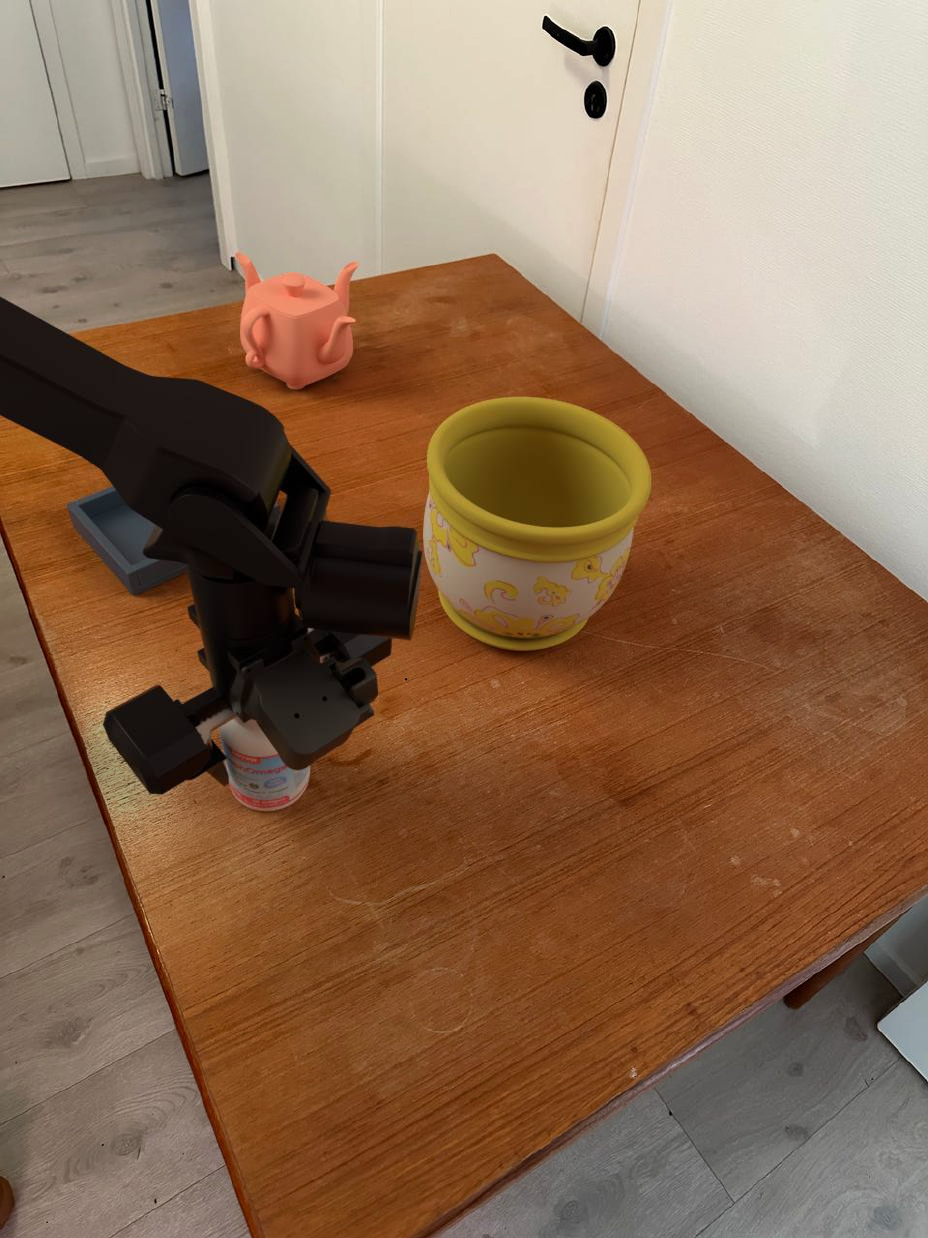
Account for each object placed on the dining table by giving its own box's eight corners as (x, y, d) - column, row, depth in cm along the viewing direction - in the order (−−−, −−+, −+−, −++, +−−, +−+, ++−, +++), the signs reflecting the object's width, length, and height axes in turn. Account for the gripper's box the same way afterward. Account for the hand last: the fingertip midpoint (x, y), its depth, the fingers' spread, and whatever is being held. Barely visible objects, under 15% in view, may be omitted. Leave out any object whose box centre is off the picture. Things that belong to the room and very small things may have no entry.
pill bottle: (216, 802, 64) (195, 711, 56) (249, 737, 68) (235, 643, 60) (294, 823, 63) (284, 735, 55) (323, 756, 68) (318, 665, 59)
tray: (133, 596, 77) (127, 574, 75) (73, 526, 82) (65, 504, 80) (281, 527, 85) (279, 505, 83) (217, 467, 90) (214, 445, 88)
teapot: (243, 333, 108) (234, 246, 100) (358, 339, 110) (359, 254, 102) (229, 398, 98) (218, 307, 90) (355, 404, 100) (355, 315, 92)
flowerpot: (418, 531, 86) (427, 388, 74) (596, 540, 88) (633, 401, 76) (415, 672, 74) (426, 528, 62) (622, 680, 75) (672, 541, 63)
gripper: (173, 780, 43) (215, 914, 55) (451, 611, 53) (437, 756, 64) (70, 648, 48) (128, 795, 60) (340, 515, 58) (345, 665, 69)
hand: (268, 752), depth 63 cm, fingers closed on pill bottle, 7 cm apart
